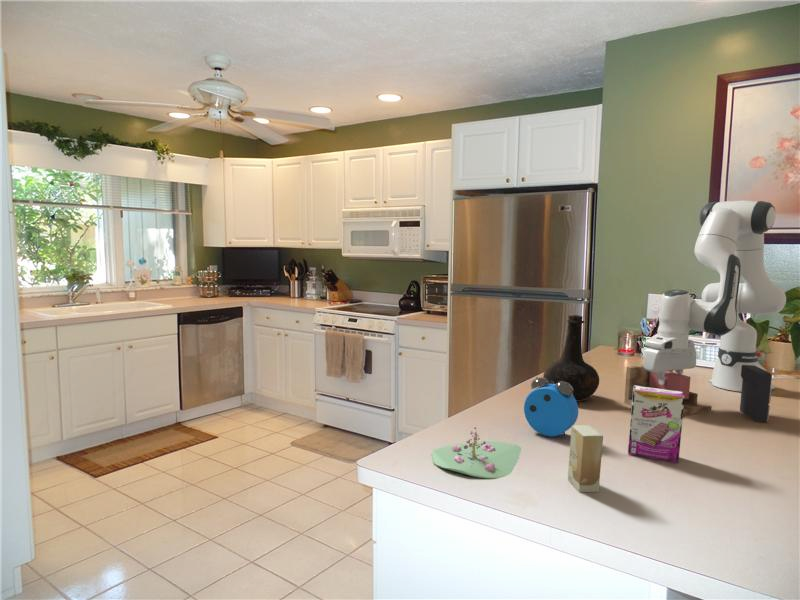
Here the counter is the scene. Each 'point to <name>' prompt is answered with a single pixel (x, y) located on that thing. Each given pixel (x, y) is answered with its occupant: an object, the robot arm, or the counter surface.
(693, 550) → the counter surface
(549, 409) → the alarm clock
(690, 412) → the wooden shelf rack
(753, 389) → the stepped charcoal slab
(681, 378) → the boxed book
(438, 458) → the plant
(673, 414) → the candy bar box
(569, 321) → the glass bottle
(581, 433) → the skincare box
